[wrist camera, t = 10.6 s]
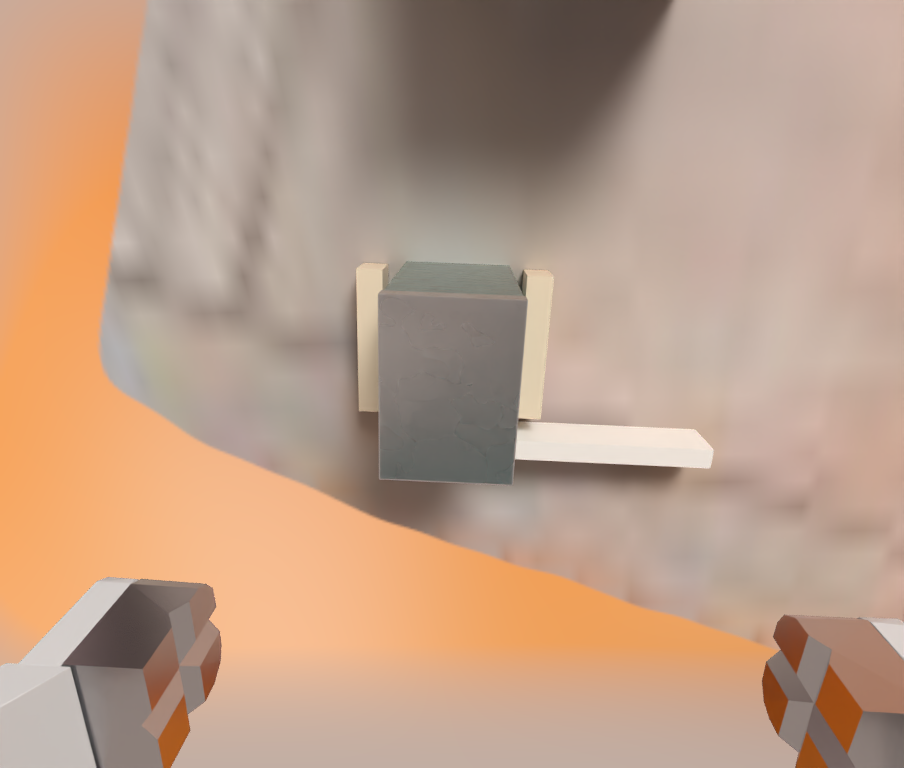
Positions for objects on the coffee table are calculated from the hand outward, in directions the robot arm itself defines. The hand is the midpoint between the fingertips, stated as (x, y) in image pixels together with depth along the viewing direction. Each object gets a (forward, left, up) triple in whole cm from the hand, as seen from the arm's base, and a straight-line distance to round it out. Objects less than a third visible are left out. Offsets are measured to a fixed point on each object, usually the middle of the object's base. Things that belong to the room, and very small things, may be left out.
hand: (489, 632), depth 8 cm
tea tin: (+1, +1, -22) cm, 22 cm away
